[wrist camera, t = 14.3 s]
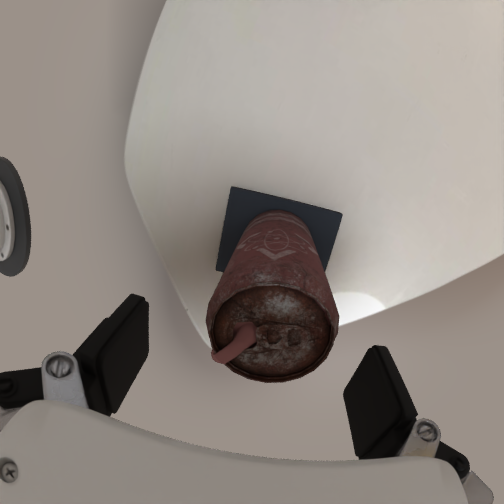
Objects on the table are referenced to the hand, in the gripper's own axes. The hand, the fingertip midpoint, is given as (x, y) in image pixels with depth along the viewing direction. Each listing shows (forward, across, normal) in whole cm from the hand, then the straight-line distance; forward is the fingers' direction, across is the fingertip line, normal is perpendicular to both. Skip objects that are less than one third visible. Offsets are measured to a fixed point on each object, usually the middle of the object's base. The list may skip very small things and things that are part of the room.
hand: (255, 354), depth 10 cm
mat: (+15, -1, 0) cm, 15 cm away
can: (+15, -1, 0) cm, 15 cm away
